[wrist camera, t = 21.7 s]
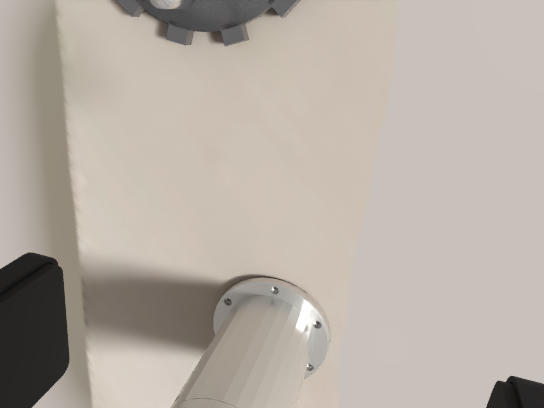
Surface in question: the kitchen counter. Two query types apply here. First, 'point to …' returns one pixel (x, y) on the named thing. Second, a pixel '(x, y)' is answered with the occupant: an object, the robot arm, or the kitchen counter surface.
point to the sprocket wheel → (207, 16)
